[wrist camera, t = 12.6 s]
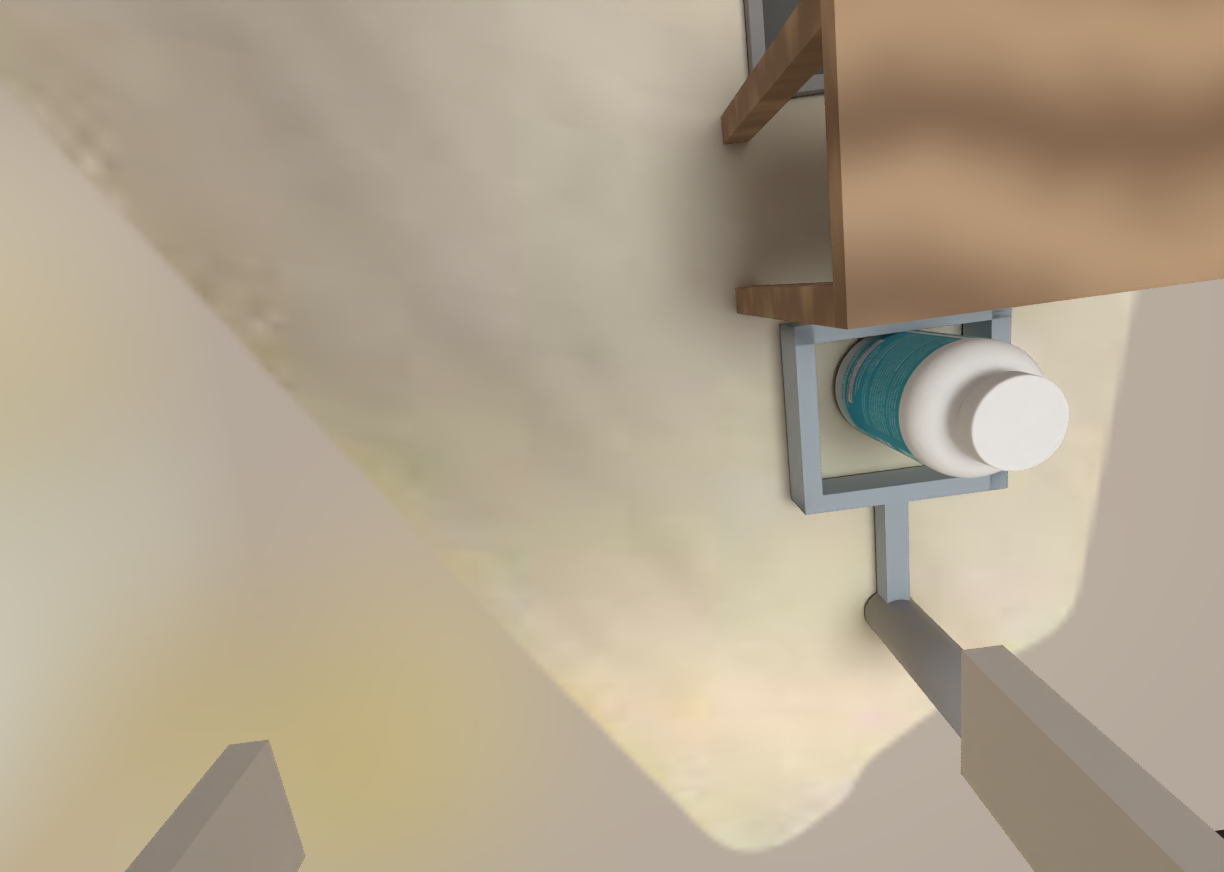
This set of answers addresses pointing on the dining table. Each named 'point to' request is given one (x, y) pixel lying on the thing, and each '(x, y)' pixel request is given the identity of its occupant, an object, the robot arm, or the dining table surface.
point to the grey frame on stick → (884, 502)
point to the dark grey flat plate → (773, 35)
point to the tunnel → (1001, 151)
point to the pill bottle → (952, 401)
